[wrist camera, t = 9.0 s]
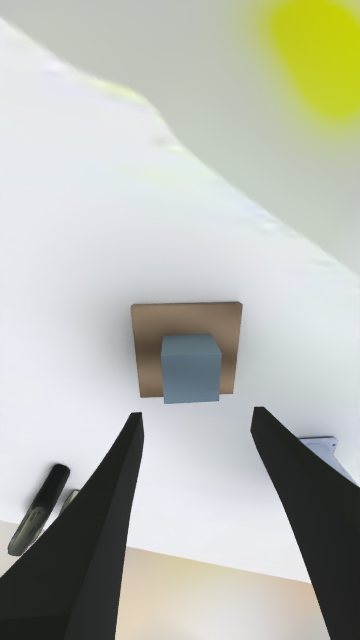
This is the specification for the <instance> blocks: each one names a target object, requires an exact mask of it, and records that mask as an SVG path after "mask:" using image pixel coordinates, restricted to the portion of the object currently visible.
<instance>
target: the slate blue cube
mask: <svg viewBox="0 0 360 640" xmlns="http://www.w3.org/2000/svg"><path fill="white" fill-rule="evenodd" d="M221 358H222V353H221V351H220V349H219V347H218V345H217V343H216V341H215V340H214V338H213V336H212V334H187V335H163V342H162V351H161V364H162V379H163V394H164V404H172V403H191V402H210V401H219V388H220V373H221Z"/></svg>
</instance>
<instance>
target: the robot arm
mask: <svg viewBox="0 0 360 640" xmlns="http://www.w3.org/2000/svg"><path fill="white" fill-rule="evenodd" d="M250 431H251V434H252V437H253V440H254V442H255V445H256V448H257V450H258V453H259V455H260V457H261V459H262V461H263V463H264V466H265V468H266V470H267V472H268V474H269V476H270V478H271V480H272V482H273V485H274V487H275V489H276V491H277V493H278V495H279V498H280V500H281V502H282V504H283V507H284V509H285V512H286V515H287V517H288V520H289V522H290V525H291V527H292V530H293V533H294V535H295V538H296V541H297V544H298V546H299V549H300V552H301V554H302V557H303V560H304V563H305V565H306V568H307V571H308V574H309V577H310V580H311V583H312V585H313V588H314V591H315V594H316V597H317V600H318V603H319V606H320V609H321V612H322V615H323V618H324V621H325V624H326V627H327V630H328V633H329V636H330V639H331V640H360V487H359V486H358V485H357V483H356V482H355V481H354V480H353V479H352V477H351V476H350V475H349V474H348V473H347V471H346V470H345V469H344V468H343V467H342V465H341V464H340V463H339V462H338V460H337V459H336V458H335V457H334V456H333V453H334V451H335V448H336V446H337V443H338V440H337V439H336V438H316V439H298V438H296V437H295V436H294V435H293V434H292V433H291V432H290V431H289V430H288V429H287V428H286V427H284V426H283V425H282V424H281V423H280V422H279V421H278V420H277V419H276V418H275V417H274V416H273V415H272V414H271V413H270V412H269V411H268V410H267V409H266V408H265V407H254V412H253V418H252V424H251V430H250ZM143 443H144V429H143V420H142V412H135V413H131V414H130V416H129V418H128V420H127V421H126V423H125V425H124V427H123V429H122V430H121V432H120V434H119V436H118V437H117V439H116V440H115V442H114V444H113V445H112V447H111V448H110V450H109V451H108V453H107V454H106V456H105V457H104V459H103V460H102V462H101V463H100V465H99V466H98V468H97V469H96V470H95V472H94V473H93V474H92V476H91V477H90V478H89V480H88V481H87V482H86V484H85V485H84V486H83V487H82V489H81V490H80V491H79V492H78V494H77V495H76V496H75V497H74V499H73V500H72V501H71V502H70V503H69V505H68V506H67V507H66V508H65V509H64V511H63V512H62V513H61V514H60V515H59V516H58V517H57V519H56V520H55V521H54V522H53V523H52V524H51V525H50V526H49V527H48V529H47V530H46V531H45V532H44V533H43V534H42V535H41V536H40V537H39V538H38V540H37V541H36V542H35V543H34V544H33V545H32V546H31V547H30V548H29V549H28V550H27V551H26V552H25V553H24V554H23V555H22V556H21V558H19V559H18V560H17V561H16V562H15V563H14V564H13V566H11V568H10V569H9V570H8V571H7V572H6V573H5V574H4V575H3V576H2V577H1V578H0V640H115V632H116V624H117V615H118V606H119V597H120V589H121V581H122V573H123V565H124V557H125V550H126V542H127V535H128V527H129V520H130V513H131V508H132V502H133V497H134V493H135V488H136V483H137V478H138V473H139V468H140V463H141V458H142V452H143Z"/></svg>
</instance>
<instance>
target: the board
mask: <svg viewBox="0 0 360 640" xmlns="http://www.w3.org/2000/svg"><path fill="white" fill-rule="evenodd" d="M242 306H243V304H241V303H239V302H226V303H183V304H139V305H132V306H131V315H132V324H133V333H134V342H135V352H136V361H137V370H138V379H139V388H140V397H141V398H146V397H164V394H163V379H162V364H161V351H162V342H163V335H187V334H212V336H213V338H214V340H215V341H216V343H217V345H218V347H219V349H220V351H221V353H222V358H221V373H220V388H219V394H233V388H234V379H235V370H236V361H237V351H238V342H239V333H240V324H241V315H242Z"/></svg>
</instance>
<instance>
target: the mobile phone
mask: <svg viewBox="0 0 360 640" xmlns="http://www.w3.org/2000/svg"><path fill="white" fill-rule="evenodd" d="M69 474H70V471H69V470H68V468H66V467H64V466H62V465H56V466H54V467H53V469H52V470H51V472H50V473H49V475H48V477H47V479H46V481H45V482H44V484H43V486H42V487H41V489H40V491H39V492H38V494H37V496H36V498H35V500H34V501H33V503H32V505H31V506H30V508H29V510H28V511H27V513H26V515H25V517H24V518H23V520H22V522H21V524H20V525H19V527H18V529H17V531H16V533H15V534H14V536H13V537H12V539H11V541H10V543H9V545H8V554H9V555H12V556H21V555H22V554H23V553H24V552H25V551H26V550H27V548H28V546H30V545H31V544H32V543H34V541H35V540H36V539H37V537H38V536H39V534H40V533H41V531H42V529H43V527H44V525H45V523H46V521H47V520H48V518H49V516H50V514H51V512H52V510H53V508H54V506H55V504H56V502H57V500H58V498H59V496H60V494H61V492H62V490H63V488H64V486H65V484H66V481H67V479H68V477H69Z"/></svg>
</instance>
